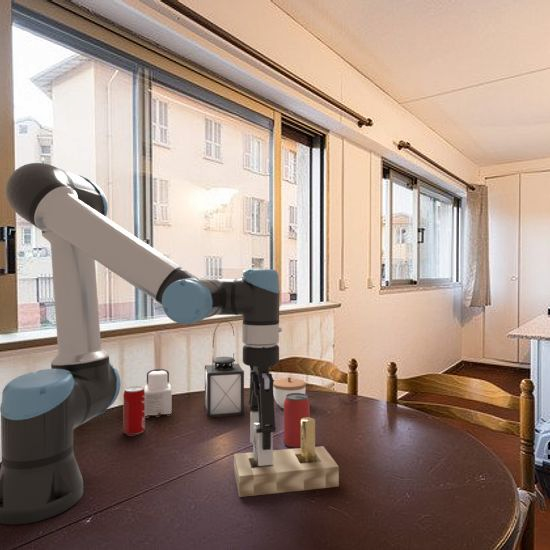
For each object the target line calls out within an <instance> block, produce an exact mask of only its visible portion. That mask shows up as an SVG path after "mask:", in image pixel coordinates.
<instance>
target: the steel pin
mask: <svg viewBox="0 0 550 550" xmlns="http://www.w3.org/2000/svg"><path fill="white" fill-rule="evenodd" d="M265 426H267V425H265ZM259 428H260V426H259V421H255V422H254V423H253V443H252V446H253V447H252V449H253V451H252V452H253V468H259V467H268V465H263V466H259V465H258V433H256V429H259Z"/></svg>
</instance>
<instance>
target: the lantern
mask: <svg viewBox="0 0 550 550" xmlns="http://www.w3.org/2000/svg"><path fill="white" fill-rule="evenodd" d="M223 322H224V323H226V322H227V323H229V324H230V326H231V328H232V333H233V335H235V330H234V328H233V327H234V326H233V325H232V323H231V322H230V321H228V320H223V321H220V322H218V324H217V325H216V327H215V328H214V329H215V330H214V333H213V337H212V338H213V340H212V347H214V345H215V344H214V342H215V334H216V330H217V328H218V327H219V325H220V324H221V323H223ZM235 361H236V359H235V354H233V357H232V356H218V357H215V358H213V359H212V363H213V364H205V365H204V407H205V406H206V407H205V411H206V410H207V411H206V418H207V417H210V418H219V417H218V416H221V417H230V416H231V417H232V415H234V416H244V415H245V370H243V368H242V367H241V366H240V363H235Z"/></svg>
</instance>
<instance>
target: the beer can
mask: <svg viewBox="0 0 550 550" xmlns="http://www.w3.org/2000/svg"><path fill="white" fill-rule="evenodd" d="M310 405H311V404H310V400H309V396H308V395H307V394H306V393H305V394H302V393H290V394H287V395H286V399H285V401H284V409H283V443H284V444H285V446H287V447H288V448H291V449H296V448H301V419H302V418H305V417H309V418H311V408H310V407H311V406H310Z"/></svg>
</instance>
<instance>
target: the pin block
mask: <svg viewBox="0 0 550 550" xmlns="http://www.w3.org/2000/svg"><path fill="white" fill-rule="evenodd" d="M233 473H234V478H235V483H236V488H237V492H238V493H237V494H238V497H239V498H243V497H244V498H245V497H250V496H251V497H253V496H261V495H262V496H263V495H271V494H273V495H274V494H280V493H290V492H299V491H309V490H317V489H327V488H328V489H329V488H336V487H337V488H338V487H339V485H340V482H339V481H340V480H339V478H340V476H339V475H340V466H339V465H338V464H337V462H336V461H335V460H334V458H333V457H332V456H331V454H330V453H329V452H328V451H327V449H326V448H325V446H323V445H321V446H315V462H312V463H302V464H301V448H288V449H287V448H284V449H273V465H268V467H259V468H253V451H252V452H251V451H250V452H242V453H241V452H240V453H234V454H233Z"/></svg>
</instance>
